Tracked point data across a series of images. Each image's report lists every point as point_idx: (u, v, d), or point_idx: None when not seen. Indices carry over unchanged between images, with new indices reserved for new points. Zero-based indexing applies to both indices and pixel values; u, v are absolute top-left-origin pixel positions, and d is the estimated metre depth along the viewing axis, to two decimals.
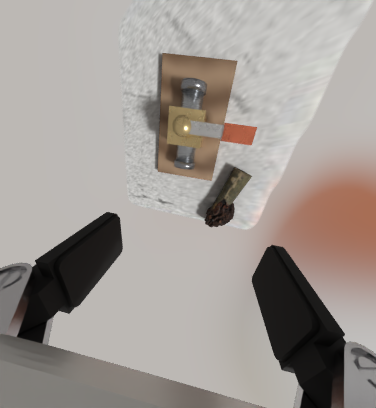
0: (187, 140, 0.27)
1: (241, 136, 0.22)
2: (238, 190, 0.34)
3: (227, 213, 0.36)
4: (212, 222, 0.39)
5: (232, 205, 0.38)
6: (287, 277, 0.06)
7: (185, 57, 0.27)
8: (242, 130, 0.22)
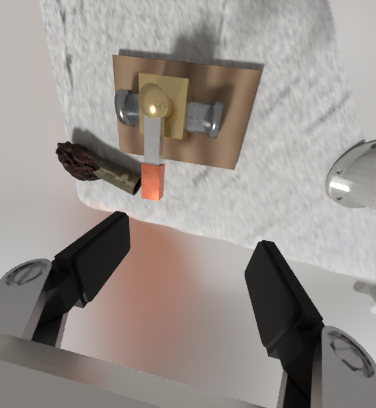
0: None
1: (148, 186, 0.19)
2: (114, 183, 0.29)
3: (80, 173, 0.28)
4: (62, 153, 0.28)
5: (97, 177, 0.31)
6: (274, 269, 0.06)
7: (249, 108, 0.23)
8: (154, 186, 0.19)
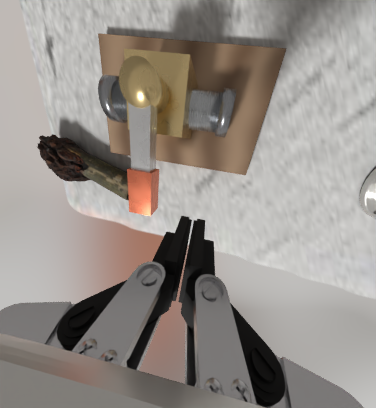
0: None
1: (137, 198, 0.15)
2: (105, 186, 0.25)
3: (66, 172, 0.24)
4: (45, 149, 0.23)
5: (87, 178, 0.27)
6: (191, 238, 0.07)
7: (268, 98, 0.18)
8: (144, 198, 0.15)
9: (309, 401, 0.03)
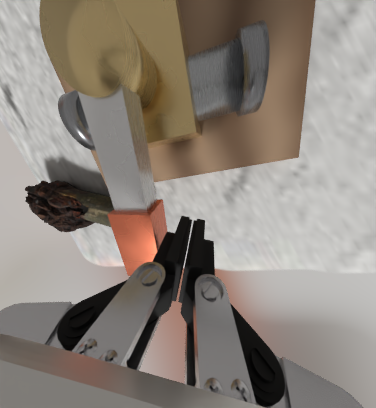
0: None
1: (135, 255, 0.09)
2: None
3: (64, 223, 0.19)
4: (34, 201, 0.19)
5: (92, 221, 0.21)
6: (191, 238, 0.07)
7: (308, 23, 0.11)
8: (147, 255, 0.09)
9: (309, 401, 0.03)
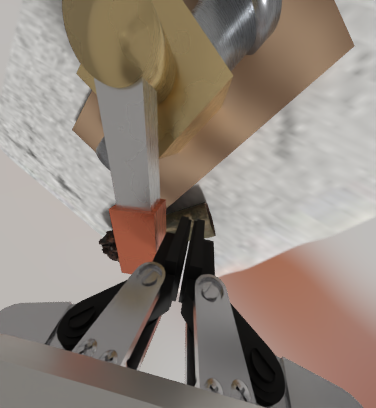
0: None
1: (132, 253, 0.09)
2: None
3: None
4: (109, 249, 0.20)
5: None
6: (191, 238, 0.07)
7: None
8: (145, 254, 0.09)
9: (309, 401, 0.03)
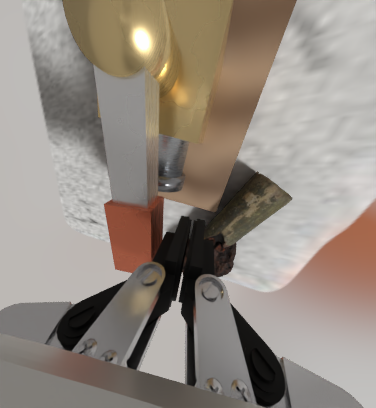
0: (161, 114, 0.08)
1: (127, 250, 0.08)
2: (256, 223, 0.16)
3: (222, 264, 0.18)
4: None
5: (233, 245, 0.19)
6: (191, 238, 0.07)
7: None
8: (140, 252, 0.08)
9: (309, 401, 0.03)
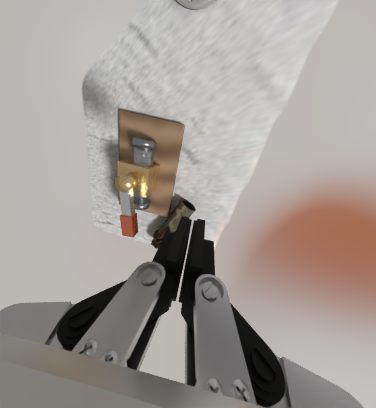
0: (135, 190, 0.30)
1: (125, 228, 0.30)
2: None
3: None
4: (156, 244, 0.41)
5: None
6: (191, 238, 0.07)
7: (139, 115, 0.30)
8: (129, 229, 0.30)
9: (309, 401, 0.03)
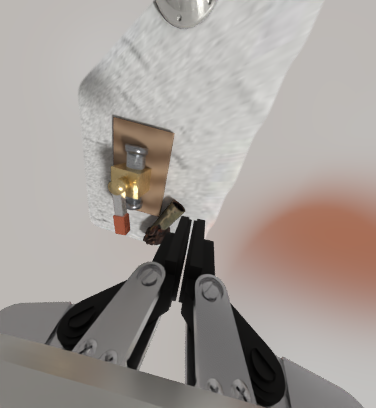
0: (127, 192, 0.33)
1: (118, 227, 0.33)
2: (171, 220, 0.40)
3: (160, 237, 0.42)
4: (148, 240, 0.44)
5: (167, 230, 0.43)
6: (191, 238, 0.07)
7: (132, 123, 0.33)
8: (122, 227, 0.33)
9: (309, 401, 0.03)
